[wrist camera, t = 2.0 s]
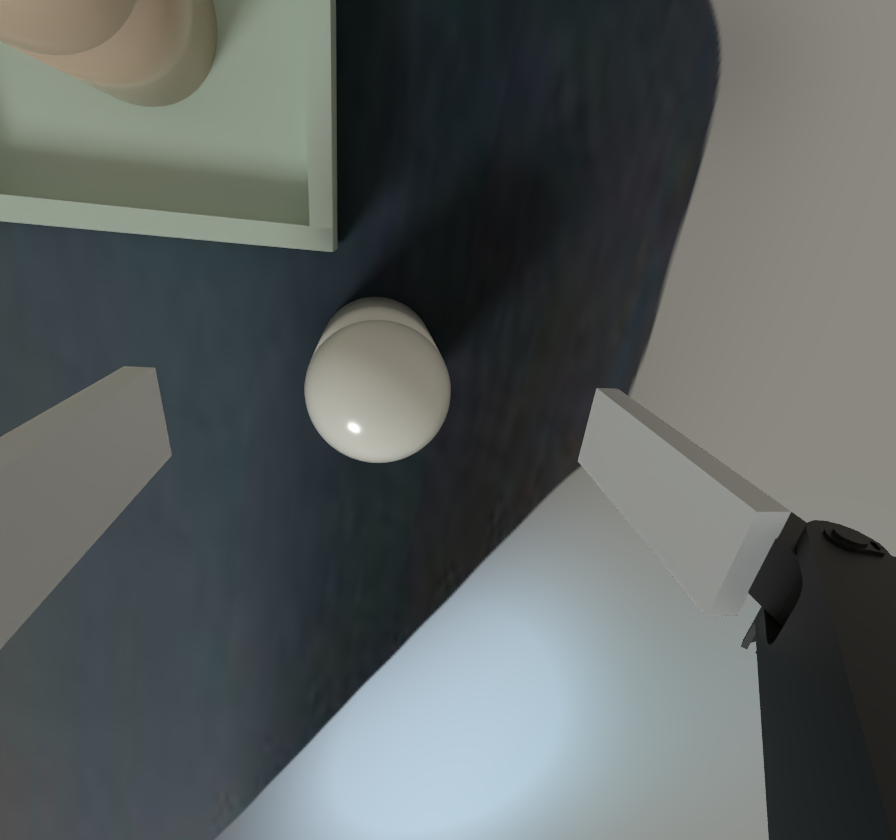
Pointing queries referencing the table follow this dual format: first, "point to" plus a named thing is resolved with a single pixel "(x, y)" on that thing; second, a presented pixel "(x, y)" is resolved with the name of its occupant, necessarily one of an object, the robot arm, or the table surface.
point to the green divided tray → (187, 140)
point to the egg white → (377, 382)
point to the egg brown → (119, 43)
